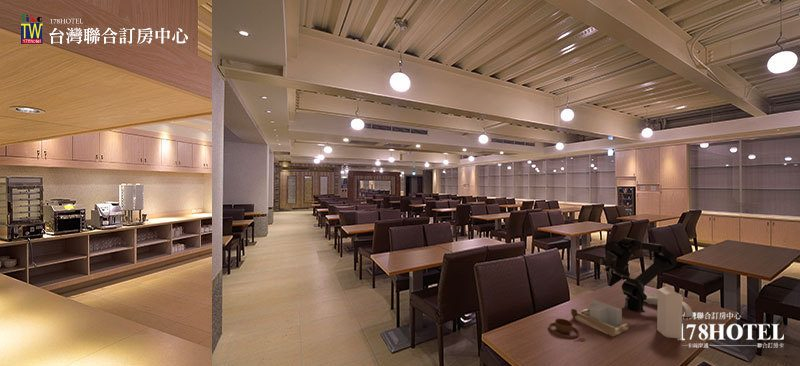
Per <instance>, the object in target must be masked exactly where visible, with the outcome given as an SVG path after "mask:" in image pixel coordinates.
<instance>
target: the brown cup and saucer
mask: <svg viewBox="0 0 800 366" xmlns="http://www.w3.org/2000/svg"><path fill="white" fill-rule="evenodd" d="M570 312H571V316H572V315H573V319H572V322H576V320H575V316H577V312H578V310H577V309H574V308H571V310H570ZM554 321H555V322H551V323H549V325H548V328H549V331H550V332H551V333H553V334H554V335H556V336H558V337H561V338H563V339H564V338H565V339H576V340H573V342H574V343H575V342H585V341H586V338H585V337H584V338H583V337H579V335H580V332H579V329H577V328H576V327H575V326H573V325H574V324H573V323H572V322H571V321H570V320H568V319H564V318H556V319H555V320H554ZM553 327H555V328H556V330H557V331H558V332H557V331H555V330H553V329H552V328H553ZM573 331H574V332H575V333H576V334H575V335H567V334H569V333H571V332H573ZM578 337H579V338H578ZM577 338H578V339H577Z"/></svg>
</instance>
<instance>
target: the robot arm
mask: <svg viewBox="0 0 800 366" xmlns="http://www.w3.org/2000/svg"><path fill="white" fill-rule="evenodd" d="M604 250H605V251H607V252H608V253H609V254H612V255H613V256H615V258H612V259H611V258H610V257H605V258H599V266H605V267H604V268H603V271H604V272H606V273H607V274H608V283H607V286H608V287H613V286H614V285H615V284H617V283H619V282H620V281H621V280H623V279H624V277H625V278H626V280H624V281H623V283H621V290H622V293H623V295H625V296H626V298H625V300H624V301H625V303H624V306H625V307H626V309H628V310H629V311H636V312H643V313H644V312H646V311H645V310H644V302H645V301H644V300H646V299H647V296H646V295H645V293H646V292H645V286H646V285H648V284H649V283H650V282H651V281H652V280H654V279H655V278H657V276H659V275H660V274H661V273H662V272H663V271H667V270H671V269H673V268H675V267H676V266H677V264H678V260H677V259H676V257H675V256H674V254H673V253H672V252H671V251H670V250H668V249H667V247H666V246H665V245H663V244H659V243H650V242H644V241H641V240H638V239H634V238H630V237H622V239H620V240H618V241H617V240H614V239H611V240H610V241H608V242H607V243H606V244H605V245H604ZM641 250H645V251H652V256H653V263H651V264H650V265H649V266H648V267H647V268H646V269H645V270H644V271H642V273H640V274H639V275H638V276H636V277H635V278H631V273H630V271H628V270H626V269H627V267H629V265H630V264H629V262H630V260H631V258H632V257H636V254H635V251H641Z"/></svg>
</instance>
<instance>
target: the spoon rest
mask: <svg viewBox="0 0 800 366" xmlns="http://www.w3.org/2000/svg"><path fill="white" fill-rule="evenodd" d="M644 293H645V295H646V296H647V299H646V300H644V301H643V302H645V303H646V302H647V303H646V304H649V303H650V304H649V305H652V304H654V305H653V306H657V305H658V293H657V294H656V293H650V292H644ZM682 310H683V311H684V317H686V318H690V317H693V316H694V314H693V313H694V312H693V310H692V308H691V307H690V306H689V304H687V303H686V302H685V301H683V300H682Z"/></svg>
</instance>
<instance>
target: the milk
mask: <svg viewBox="0 0 800 366" xmlns="http://www.w3.org/2000/svg"><path fill="white" fill-rule="evenodd" d="M657 295H658V305H656V306H657V316H656V317H657V319H656V320H657V321H656V322H657V323H656V330H657V331H658V333H660V334H661V335H663V336H664V337H665V338H670V339H671V338H673V339H681V340H682V339H683V307H682V301H683V299H682V297H683V294H680V293H678V292H676V291H675V287H673V286H671V285H669V284H667V283H665V285H664V286H663V287H661V288H659V289H657Z"/></svg>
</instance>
